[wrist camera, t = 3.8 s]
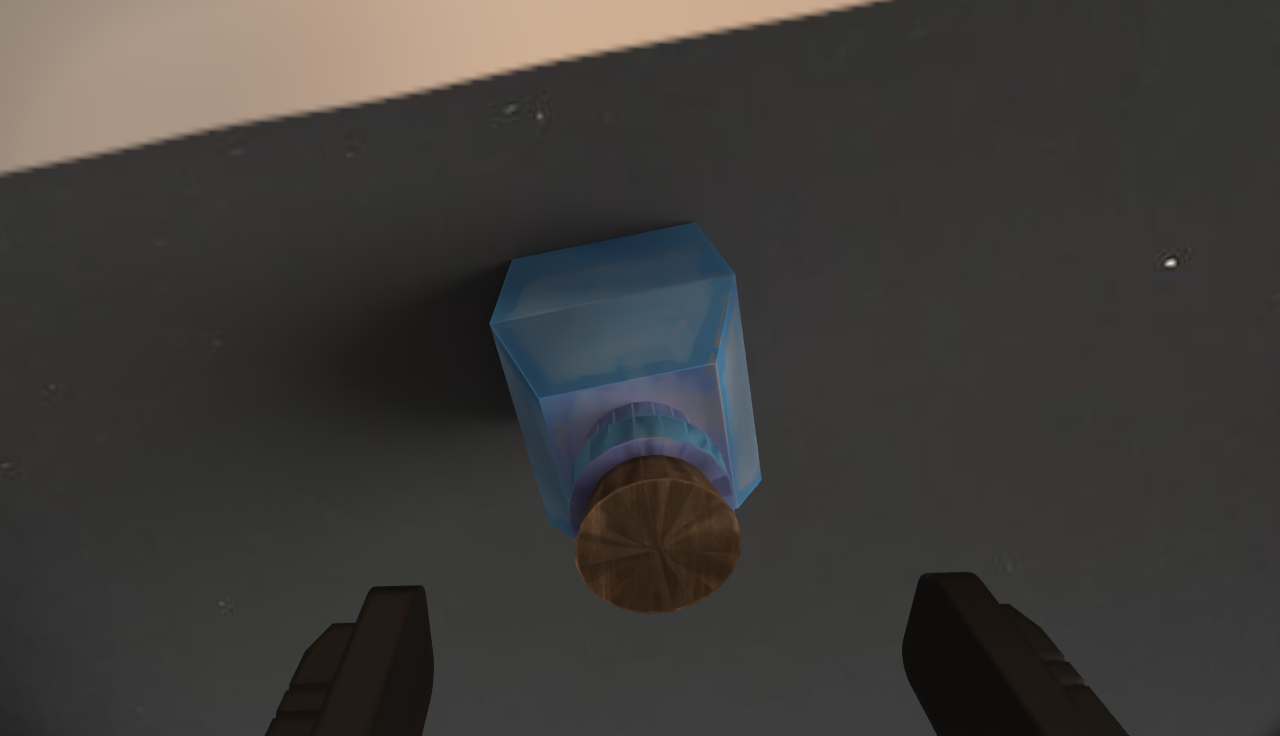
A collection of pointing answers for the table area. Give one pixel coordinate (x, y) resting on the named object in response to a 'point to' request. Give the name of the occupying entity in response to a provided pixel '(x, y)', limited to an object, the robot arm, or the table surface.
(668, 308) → the perfume bottle
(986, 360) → the table surface
